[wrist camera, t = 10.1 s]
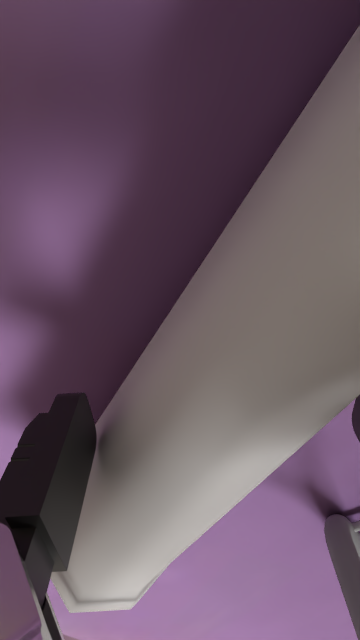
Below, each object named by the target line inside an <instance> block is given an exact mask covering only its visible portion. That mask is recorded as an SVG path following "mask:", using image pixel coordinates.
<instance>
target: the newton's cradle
mask: <svg viewBox="0 0 360 640" xmlns="http://www.w3.org/2000/svg"><path fill="white" fill-rule="evenodd" d="M358 531H360V520H359V521H356V522H353V523H351V522H350V521H349V520H348V519H347V518H346V517H344V516H342V515H339V514H335V515H331V516H329V517H328V518H327V519H326V521H325V527H324V533H325V538H326V543H327V546H328V550H329V553H330V557H331V560H332V563H333V566H334V569H335V572H336V574H337V577H338V580H339V583H340V586H341V589H342V592H343V595H344V598H345V601H346V604H347V607H348V610H349V613H350V616H351V619H352V622H353V625H354V628H355V631H356V634H357V637H358V640H360V534H359V532H358Z"/></svg>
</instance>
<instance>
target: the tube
mask: <svg viewBox="0 0 360 640" xmlns="http://www.w3.org/2000/svg"><path fill="white" fill-rule="evenodd" d="M359 395H360V25H359V26H358V28H357V30H356V31H355V33H354V34H353V36H352V37H351V39H350V40H349V42H348V43H347V45H346V46H345V48H344V49H343V51H342V52H341V54H340V55H339V57H338V58H337V60H336V61H335V63H334V64H333V66H332V67H331V69H330V70H329V72H328V73H327V75H326V76H325V78H324V79H323V81H322V82H321V84H320V85H319V87H318V88H317V90H316V92H315V93H314V95H313V96H312V98H311V99H310V101H309V102H308V104H307V105H306V107H305V108H304V110H303V111H302V113H301V114H300V116H299V117H298V119H297V120H296V122H295V123H294V125H293V126H292V128H291V129H290V131H289V132H288V134H287V135H286V137H285V138H284V140H283V141H282V143H281V144H280V146H279V147H278V149H277V151H276V152H275V154H274V155H273V157H272V158H271V160H270V161H269V163H268V164H267V166H266V167H265V169H264V170H263V172H262V173H261V175H260V176H259V178H258V179H257V181H256V182H255V184H254V185H253V187H252V188H251V190H250V191H249V193H248V194H247V196H246V197H245V199H244V200H243V202H242V203H241V205H240V206H239V208H238V209H237V211H236V213H235V214H234V216H233V217H232V219H231V220H230V222H229V223H228V225H227V226H226V228H225V229H224V231H223V232H222V234H221V235H220V237H219V238H218V240H217V241H216V243H215V244H214V246H213V247H212V249H211V250H210V252H209V253H208V255H207V256H206V258H205V259H204V261H203V262H202V264H201V265H200V267H199V268H198V270H197V272H196V273H195V275H194V276H193V278H192V279H191V281H190V282H189V284H188V285H187V287H186V288H185V290H184V291H183V293H182V294H181V296H180V297H179V299H178V300H177V302H176V303H175V305H174V306H173V308H172V309H171V311H170V312H169V314H168V315H167V317H166V318H165V320H164V321H163V323H162V324H161V326H160V327H159V329H158V330H157V332H156V334H155V335H154V337H153V338H152V340H151V341H150V343H149V344H148V346H147V347H146V349H145V350H144V352H143V353H142V355H141V356H140V358H139V359H138V361H137V362H136V364H135V365H134V367H133V368H132V370H131V371H130V373H129V374H128V376H127V377H126V379H125V380H124V382H123V383H122V385H121V386H120V388H119V389H118V391H117V392H116V394H115V396H114V397H113V399H112V400H111V402H110V403H109V405H108V406H107V408H106V409H105V411H104V412H103V414H102V415H101V417H100V418H99V420H98V421H97V423H96V424H95V427H96V434H97V444H96V451H95V455H94V459H93V463H92V468H91V472H90V476H89V480H88V484H87V489H86V493H85V497H84V501H83V506H82V510H81V514H80V518H79V522H78V527H77V531H76V535H75V539H74V544H73V548H72V552H71V556H70V560H69V565H68V569H67V571H61V572H52V573H51V577H50V578H51V580H52V582H53V584H54V586H55V587H56V589H57V591H58V593H59V595H60V596H61V598H62V600H63V602H64V604H65V605H66V607H67V609H68V611H69V613H77V612H94V611H110V610H127V609H131V608H132V607H133V606H134V605H135V604H136V603H137V602H138V601H139V600H140V598H141V597H142V596H143V595H144V594H145V593H146V591H147V590H148V589H149V588H150V587H151V585H152V584H153V583H154V582H155V581H156V580H157V578H158V577H159V576H160V575H161V574H162V572H163V571H164V570H165V569H166V568H167V567H168V565H169V564H170V563H171V562H172V561H173V560H174V559H176V558H177V557H178V556H179V555H180V554H181V553H182V552H183V551H185V550H186V549H187V548H188V547H189V546H190V545H191V544H192V543H194V542H195V541H196V540H197V539H198V538H199V537H200V536H201V535H203V534H204V533H205V532H206V531H207V530H208V529H209V528H210V527H212V526H213V525H214V524H215V523H216V522H217V521H218V520H219V519H221V518H222V517H223V516H224V515H225V514H226V513H227V512H228V511H230V510H231V509H232V508H233V507H234V506H235V505H236V504H237V503H239V502H240V501H241V500H242V499H243V498H244V497H245V496H246V495H248V494H249V493H250V492H251V491H252V490H253V489H254V488H255V487H257V486H258V485H259V484H260V483H261V482H262V481H263V480H264V479H266V478H267V477H268V476H269V475H270V474H271V473H272V472H273V471H275V470H276V469H277V468H278V467H279V466H280V465H281V464H282V463H283V462H285V461H286V460H287V459H288V458H289V457H290V456H291V455H292V454H294V453H295V452H296V451H297V450H298V449H299V448H300V447H301V446H303V445H304V444H305V443H306V442H307V441H308V440H309V439H310V438H312V437H313V436H314V435H315V434H316V433H317V432H318V431H319V430H321V429H322V428H323V427H324V426H325V425H326V424H327V423H328V422H330V421H331V420H332V419H333V418H334V417H335V416H336V415H337V414H339V413H340V412H341V411H342V410H343V409H344V408H345V407H346V406H348V405H349V404H350V403H351V402H352V401H353V400H354V399H355V398H357V397H358V396H359Z"/></svg>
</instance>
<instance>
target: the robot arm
mask: <svg viewBox="0 0 360 640" xmlns="http://www.w3.org/2000/svg"><path fill="white" fill-rule="evenodd" d="M352 424H353V429H354V432H355V434H356V436H357V438H358V440H359V441H360V395H359V396H358V397H357V398H356V400H355V404H354V408H353V412H352ZM96 444H97V434H96V427H95V424H94V420H93V417H92V413H91V409H90V406H89V402H88V399H87V396H86V394H85V393H67V394H58V395H57V396H56V397H55V399H54V402H53V404H52V406H51V409H50V411H49V413H39V414H38V415H37V416H36V418H35V419H34V420H33V421H32V422H31V423H30V424H29V425H28V426H27V427H26V428H25V430H24V432H23V434H22V436H21V438H20V440H19V443H18V447H17V448H16V449H15V451H14V453H13V455H12V457H11V462H9V463H8V465H7V468H6V470H5V472H4V474H3V476H2V478H1V480H0V640H64V637H63V635H62V632H61V629H60V627H59V624H58V621H57V619H56V616H55V613H54V610H53V608H52V605H51V602H50V600H49V597H48V594H47V588H48V585H49V581H50V577H51V573H52V572H61V571H67V569H68V565H69V560H70V556H71V552H72V548H73V544H74V539H75V535H76V531H77V527H78V522H79V518H80V514H81V510H82V506H83V501H84V497H85V493H86V489H87V484H88V480H89V476H90V472H91V468H92V463H93V459H94V455H95V451H96Z"/></svg>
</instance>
